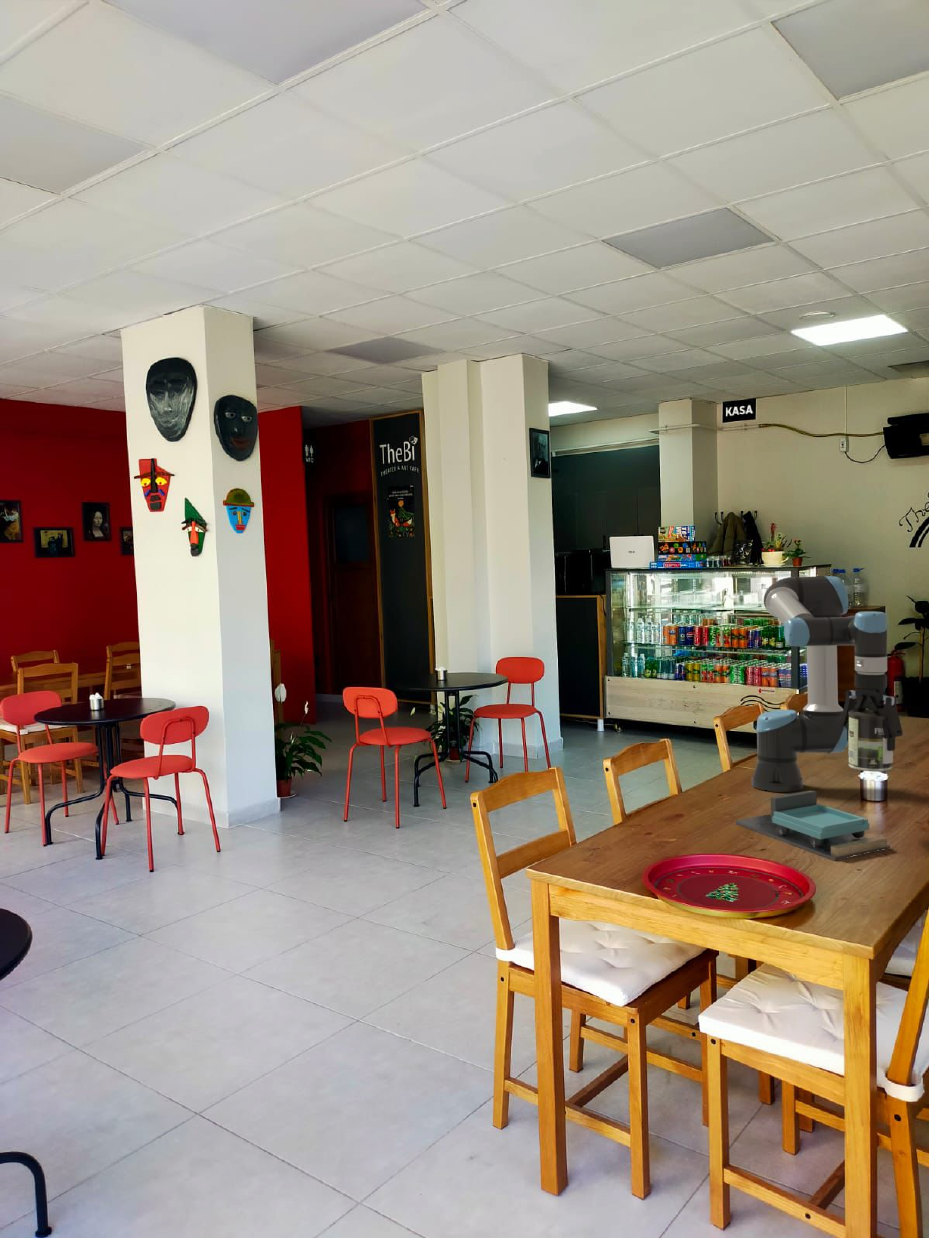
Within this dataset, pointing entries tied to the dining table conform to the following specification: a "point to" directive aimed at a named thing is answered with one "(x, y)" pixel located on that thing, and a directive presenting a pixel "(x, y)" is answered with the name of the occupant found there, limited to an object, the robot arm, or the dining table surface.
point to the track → (831, 846)
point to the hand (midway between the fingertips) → (870, 758)
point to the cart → (814, 818)
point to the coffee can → (866, 741)
